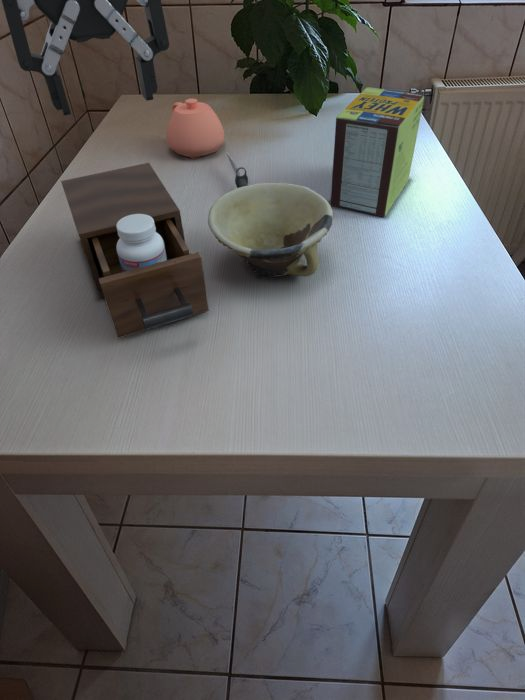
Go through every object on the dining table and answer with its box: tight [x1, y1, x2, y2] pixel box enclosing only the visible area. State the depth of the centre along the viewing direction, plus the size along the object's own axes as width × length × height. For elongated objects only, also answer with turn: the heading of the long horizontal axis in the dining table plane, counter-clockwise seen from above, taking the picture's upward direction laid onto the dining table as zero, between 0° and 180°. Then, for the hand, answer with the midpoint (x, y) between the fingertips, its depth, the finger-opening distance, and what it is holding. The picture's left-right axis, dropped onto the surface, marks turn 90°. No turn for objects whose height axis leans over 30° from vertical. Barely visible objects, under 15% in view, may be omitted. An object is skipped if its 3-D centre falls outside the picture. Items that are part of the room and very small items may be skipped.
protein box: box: [329, 86, 425, 218], centre depth 87 cm, size 10×15×16 cm
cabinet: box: [60, 162, 186, 299], centre depth 76 cm, size 17×14×11 cm
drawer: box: [91, 218, 210, 339], centre depth 67 cm, size 21×13×9 cm, turn 24°
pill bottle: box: [116, 214, 167, 272], centre depth 65 cm, size 6×6×11 cm
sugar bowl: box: [166, 98, 226, 160], centre depth 105 cm, size 12×14×10 cm
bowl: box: [207, 182, 334, 278], centre depth 73 cm, size 18×18×10 cm
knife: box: [226, 151, 249, 189], centre depth 93 cm, size 19×2×5 cm, turn 16°
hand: (107, 105), depth 52 cm, fingers open, 8 cm apart
